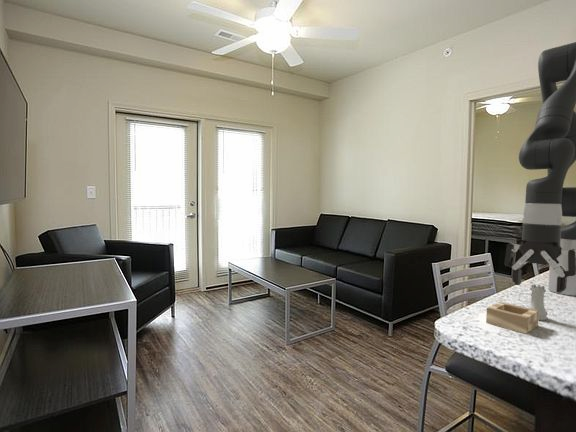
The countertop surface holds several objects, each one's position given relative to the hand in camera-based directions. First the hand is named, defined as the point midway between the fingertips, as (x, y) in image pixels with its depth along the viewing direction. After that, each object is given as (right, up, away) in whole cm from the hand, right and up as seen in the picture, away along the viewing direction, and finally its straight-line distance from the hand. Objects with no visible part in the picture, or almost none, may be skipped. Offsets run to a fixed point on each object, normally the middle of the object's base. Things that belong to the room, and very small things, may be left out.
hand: (537, 288), depth 82 cm
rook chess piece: (0, -8, +1) cm, 8 cm away
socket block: (-9, -8, -4) cm, 12 cm away
